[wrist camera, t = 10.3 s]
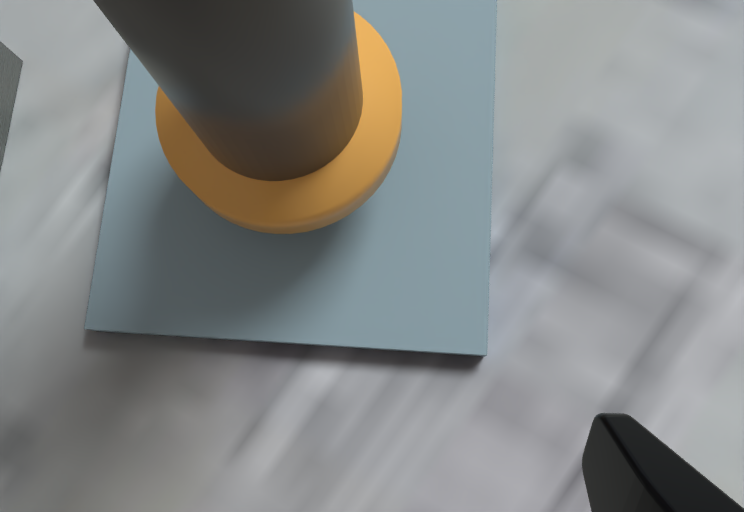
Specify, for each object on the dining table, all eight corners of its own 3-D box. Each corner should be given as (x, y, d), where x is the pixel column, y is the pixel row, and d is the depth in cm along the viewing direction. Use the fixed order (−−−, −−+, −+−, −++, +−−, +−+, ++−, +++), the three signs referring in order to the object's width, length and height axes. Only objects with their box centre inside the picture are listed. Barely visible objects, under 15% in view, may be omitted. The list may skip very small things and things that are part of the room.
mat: (484, 356, 19) (487, 355, 18) (93, 331, 19) (84, 329, 19) (494, -1, 21) (497, -12, 20) (149, -13, 22) (141, -24, 21)
